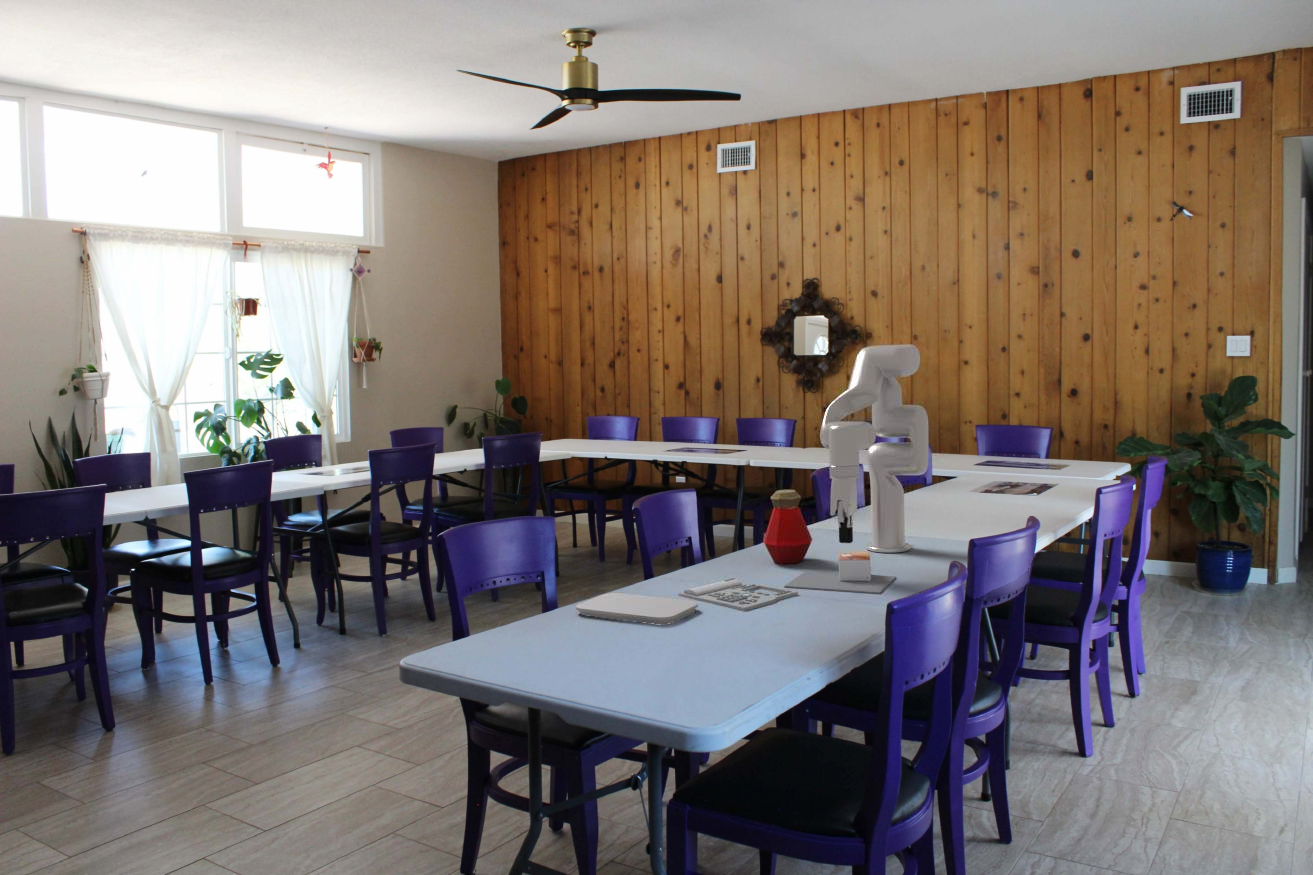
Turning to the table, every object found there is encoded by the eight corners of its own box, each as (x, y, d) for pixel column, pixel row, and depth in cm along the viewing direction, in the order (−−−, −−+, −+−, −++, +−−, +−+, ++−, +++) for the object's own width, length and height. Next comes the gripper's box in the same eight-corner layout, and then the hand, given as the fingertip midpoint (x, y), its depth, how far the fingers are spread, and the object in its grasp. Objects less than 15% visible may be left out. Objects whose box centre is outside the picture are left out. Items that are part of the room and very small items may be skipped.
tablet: (667, 628, 213) (667, 618, 213) (570, 616, 227) (570, 607, 226) (703, 611, 227) (702, 601, 227) (609, 601, 240) (609, 592, 240)
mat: (805, 572, 262) (805, 571, 262) (895, 577, 252) (895, 576, 252) (784, 587, 246) (784, 585, 246) (879, 593, 235) (879, 592, 235)
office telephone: (676, 587, 242) (733, 574, 255) (676, 598, 242) (734, 584, 255) (743, 601, 224) (801, 586, 237) (744, 613, 224) (802, 597, 237)
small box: (869, 551, 257) (871, 559, 247) (870, 572, 257) (871, 581, 247) (838, 551, 258) (838, 559, 248) (839, 572, 259) (839, 581, 248)
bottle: (799, 568, 267) (797, 495, 266) (754, 564, 274) (752, 494, 273) (821, 557, 281) (819, 488, 279) (778, 554, 288) (776, 486, 286)
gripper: (837, 468, 261) (839, 536, 262) (822, 475, 247) (823, 547, 248) (865, 469, 257) (867, 538, 259) (851, 475, 244) (853, 548, 245)
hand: (846, 542), depth 254 cm, fingers closed
